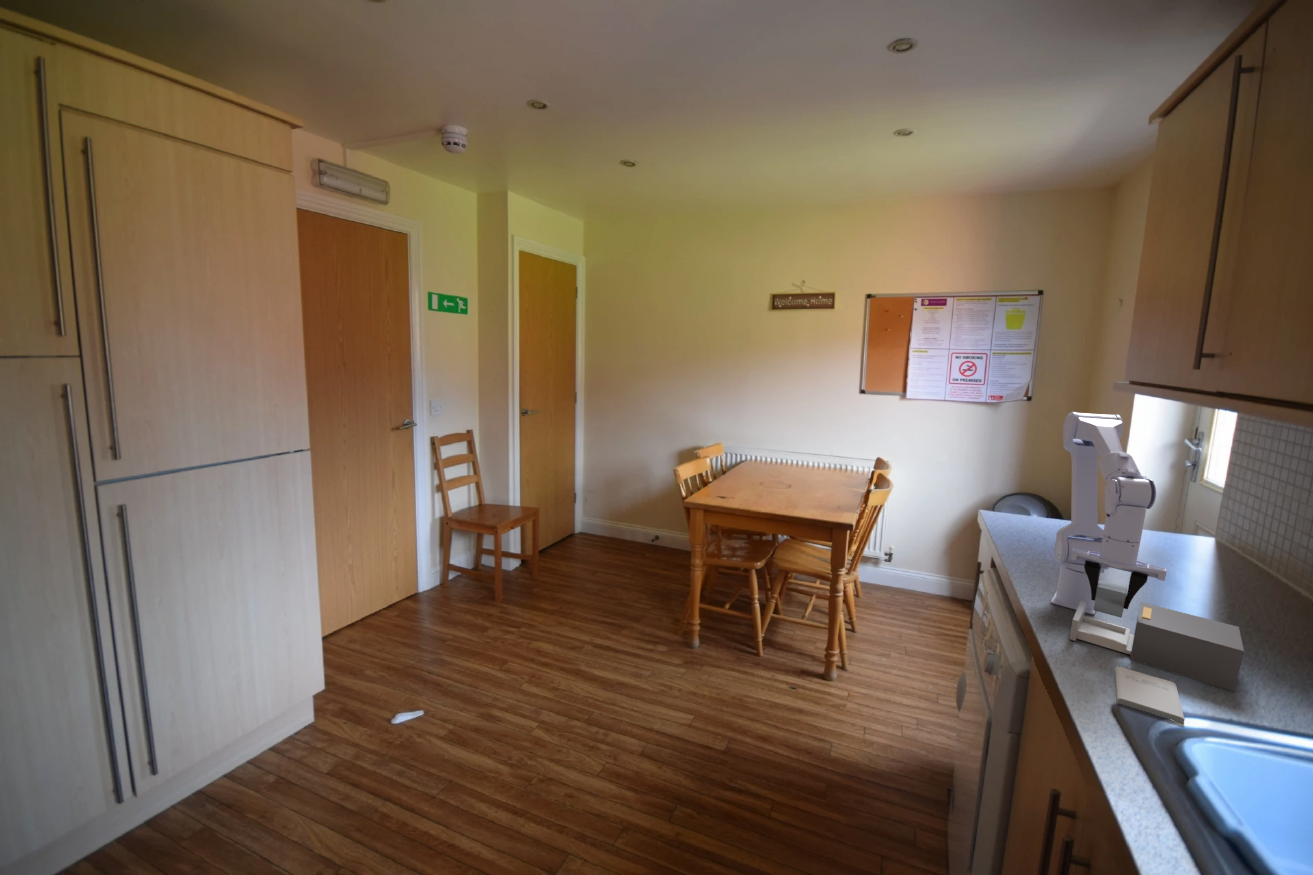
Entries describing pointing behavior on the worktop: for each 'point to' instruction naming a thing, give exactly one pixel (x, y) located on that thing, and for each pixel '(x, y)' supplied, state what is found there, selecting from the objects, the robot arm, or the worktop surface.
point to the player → (1188, 645)
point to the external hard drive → (1148, 694)
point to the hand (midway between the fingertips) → (1109, 603)
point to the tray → (1100, 632)
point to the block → (1110, 598)
